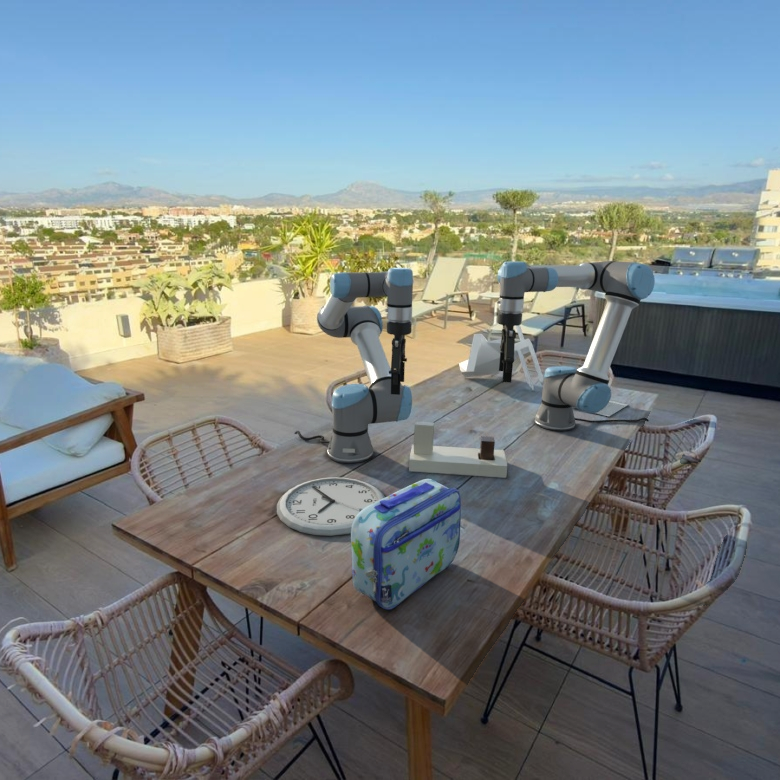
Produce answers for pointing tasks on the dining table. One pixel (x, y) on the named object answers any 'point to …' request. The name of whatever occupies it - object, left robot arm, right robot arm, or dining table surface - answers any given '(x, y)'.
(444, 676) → the dining table surface
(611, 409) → the invitation card
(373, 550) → the lunch box
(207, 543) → the dining table surface
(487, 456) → the peg
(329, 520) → the wall clock
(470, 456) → the peg board
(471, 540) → the dining table surface
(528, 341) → the white plastic object
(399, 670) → the dining table surface
